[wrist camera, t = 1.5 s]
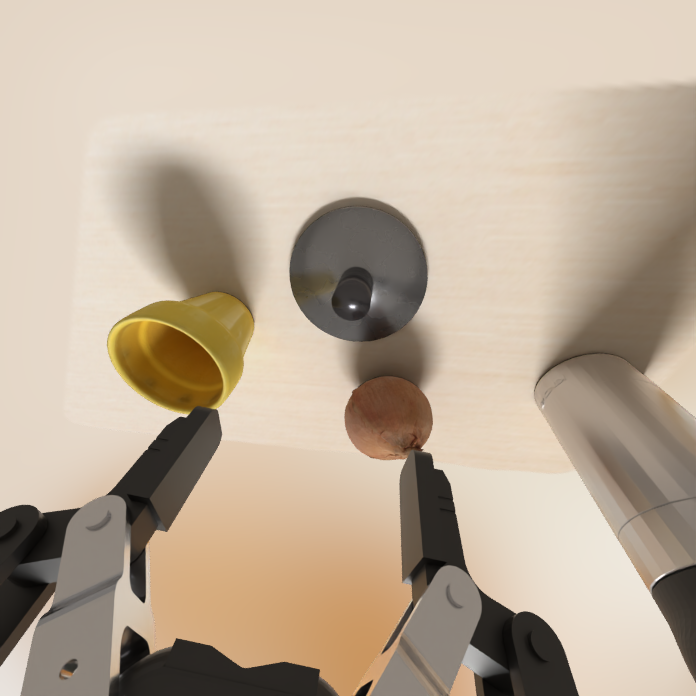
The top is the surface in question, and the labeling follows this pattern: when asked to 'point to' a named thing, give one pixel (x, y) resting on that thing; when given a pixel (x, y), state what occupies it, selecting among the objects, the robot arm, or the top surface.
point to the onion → (388, 418)
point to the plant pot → (183, 350)
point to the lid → (358, 273)
